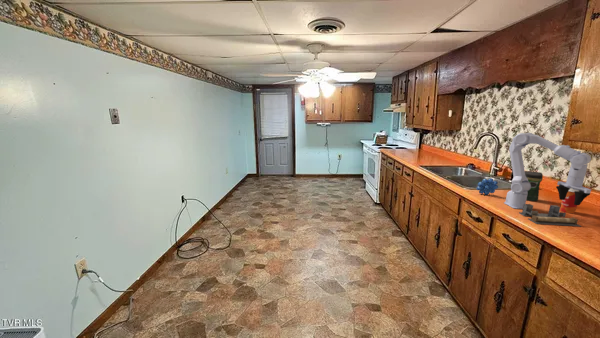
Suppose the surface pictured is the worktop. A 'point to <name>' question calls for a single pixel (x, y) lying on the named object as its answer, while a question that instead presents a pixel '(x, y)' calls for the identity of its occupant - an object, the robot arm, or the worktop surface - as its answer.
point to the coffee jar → (533, 184)
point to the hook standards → (552, 213)
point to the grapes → (487, 186)
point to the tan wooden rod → (555, 219)
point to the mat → (554, 223)
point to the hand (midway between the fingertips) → (569, 202)
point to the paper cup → (569, 202)
